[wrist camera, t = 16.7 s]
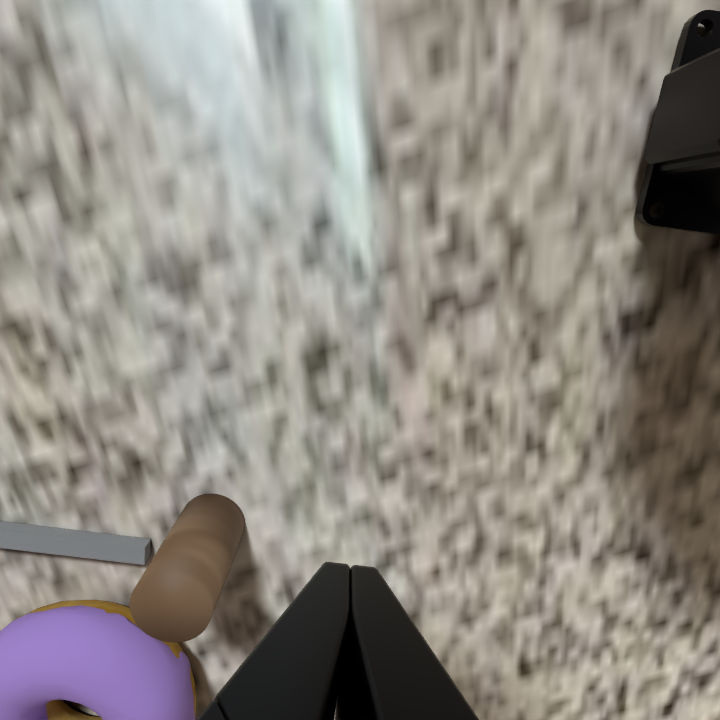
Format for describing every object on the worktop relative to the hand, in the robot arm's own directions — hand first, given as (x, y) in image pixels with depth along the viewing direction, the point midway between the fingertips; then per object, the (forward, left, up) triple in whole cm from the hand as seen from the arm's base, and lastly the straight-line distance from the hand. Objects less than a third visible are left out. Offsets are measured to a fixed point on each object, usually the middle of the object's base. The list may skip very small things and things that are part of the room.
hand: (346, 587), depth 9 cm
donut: (+10, +15, -12) cm, 22 cm away
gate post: (+5, +7, -12) cm, 15 cm away
